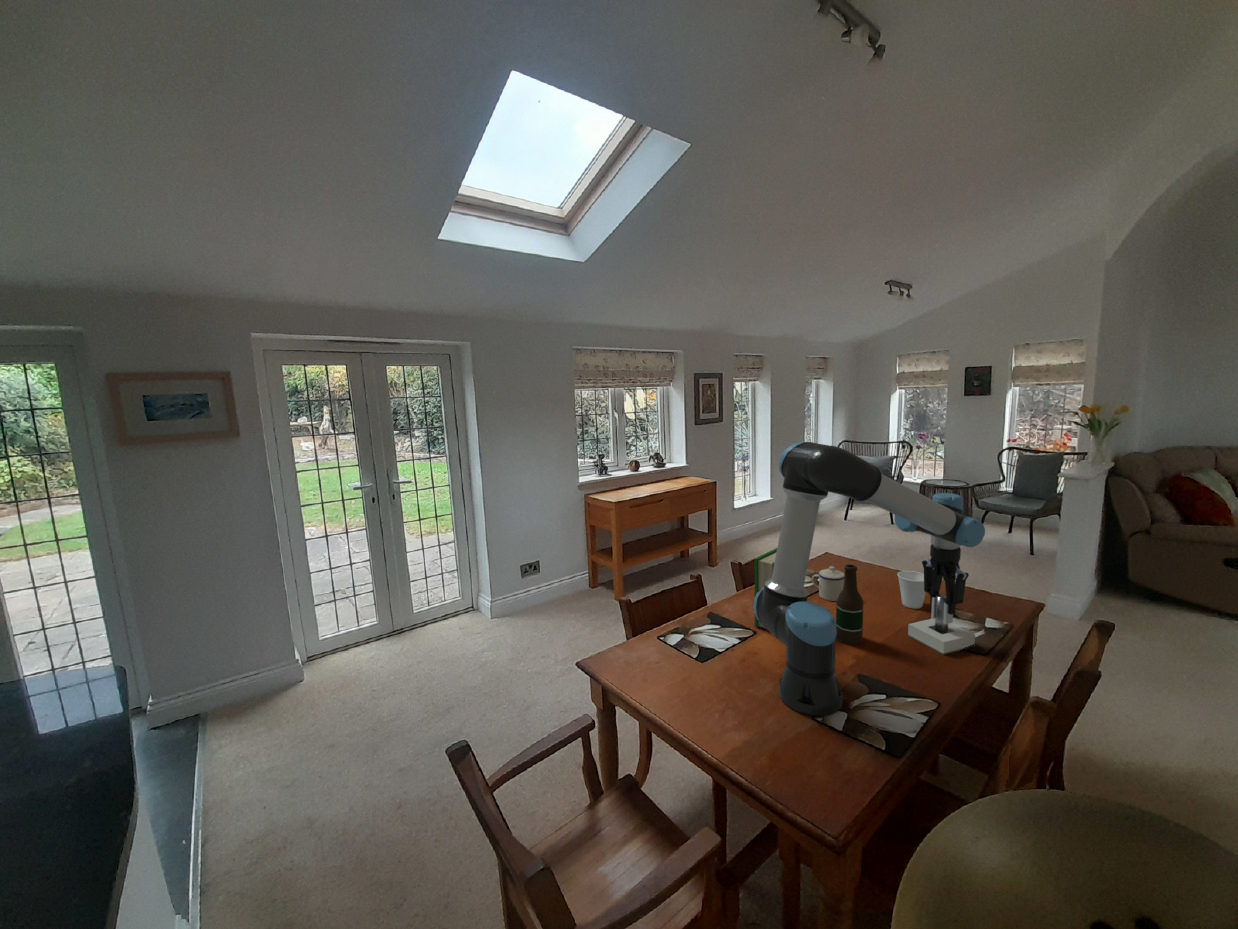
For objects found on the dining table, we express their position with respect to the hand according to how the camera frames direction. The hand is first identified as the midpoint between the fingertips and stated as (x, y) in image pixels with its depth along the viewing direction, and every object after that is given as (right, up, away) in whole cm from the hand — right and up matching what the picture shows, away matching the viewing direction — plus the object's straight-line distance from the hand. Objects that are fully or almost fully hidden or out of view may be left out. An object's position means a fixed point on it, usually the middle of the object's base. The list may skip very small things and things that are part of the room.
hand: (941, 620), depth 149 cm
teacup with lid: (-19, -3, +37) cm, 41 cm away
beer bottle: (-26, -8, +5) cm, 27 cm away
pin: (0, -4, +1) cm, 5 cm away
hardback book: (-44, -7, +18) cm, 48 cm away
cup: (+6, -3, +26) cm, 26 cm away
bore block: (0, -7, +1) cm, 7 cm away
